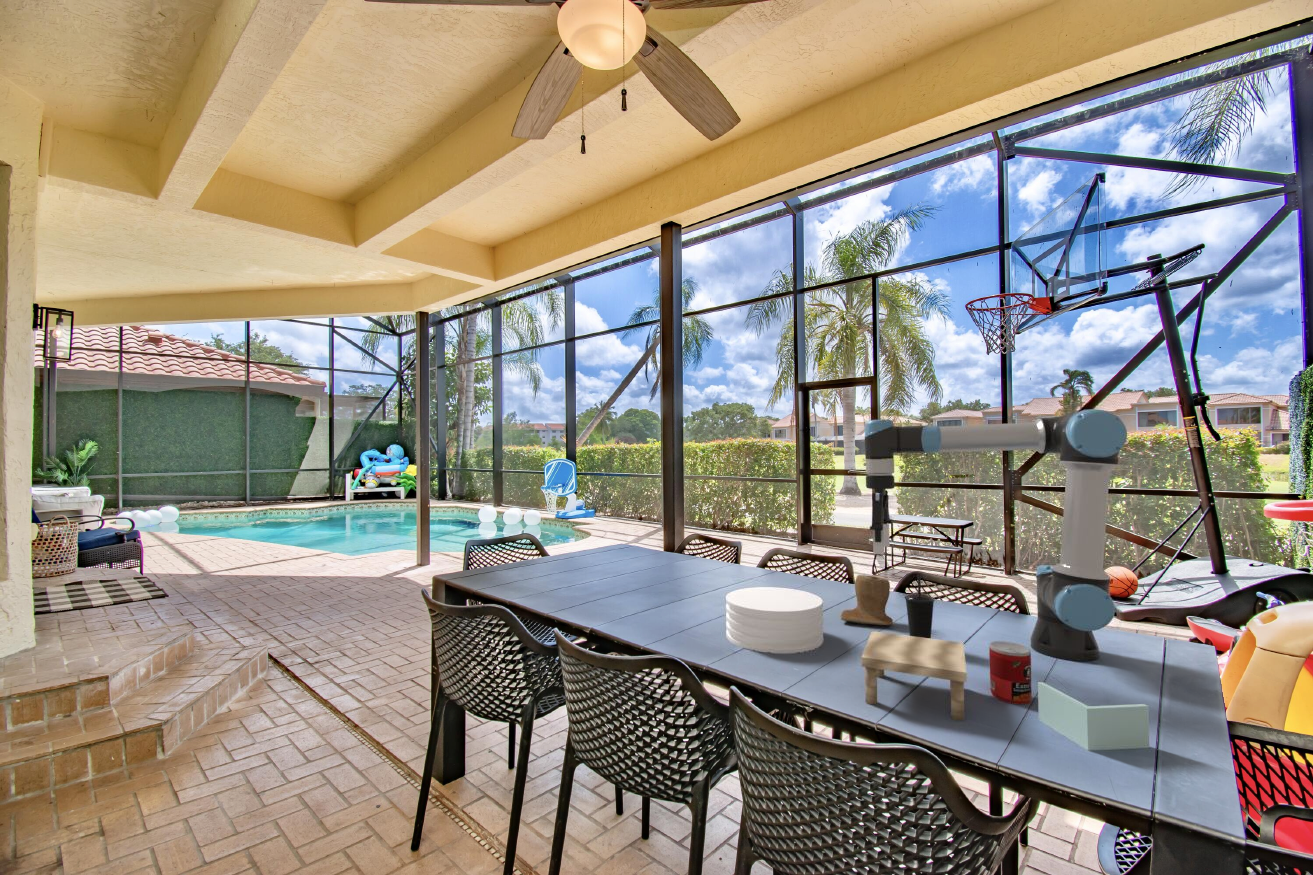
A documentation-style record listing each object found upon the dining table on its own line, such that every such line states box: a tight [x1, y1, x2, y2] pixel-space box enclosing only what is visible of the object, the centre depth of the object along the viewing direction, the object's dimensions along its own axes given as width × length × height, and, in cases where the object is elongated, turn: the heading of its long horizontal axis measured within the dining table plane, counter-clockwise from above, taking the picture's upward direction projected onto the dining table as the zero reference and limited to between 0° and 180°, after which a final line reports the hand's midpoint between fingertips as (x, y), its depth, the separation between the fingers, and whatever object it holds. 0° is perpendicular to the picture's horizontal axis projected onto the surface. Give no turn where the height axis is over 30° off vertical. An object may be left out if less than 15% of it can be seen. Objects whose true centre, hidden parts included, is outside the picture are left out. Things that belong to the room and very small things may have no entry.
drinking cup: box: [904, 574, 936, 639], centre depth 159 cm, size 8×8×20 cm
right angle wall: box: [1037, 681, 1151, 751], centre depth 110 cm, size 12×12×8 cm
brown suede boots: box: [840, 574, 894, 626], centre depth 182 cm, size 15×12×15 cm
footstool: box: [861, 630, 968, 721], centre depth 127 cm, size 20×20×10 cm
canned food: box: [988, 640, 1033, 705], centre depth 126 cm, size 8×8×11 cm
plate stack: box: [725, 586, 824, 654], centre depth 168 cm, size 28×28×12 cm
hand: (881, 550), depth 160 cm, fingers open, 13 cm apart
